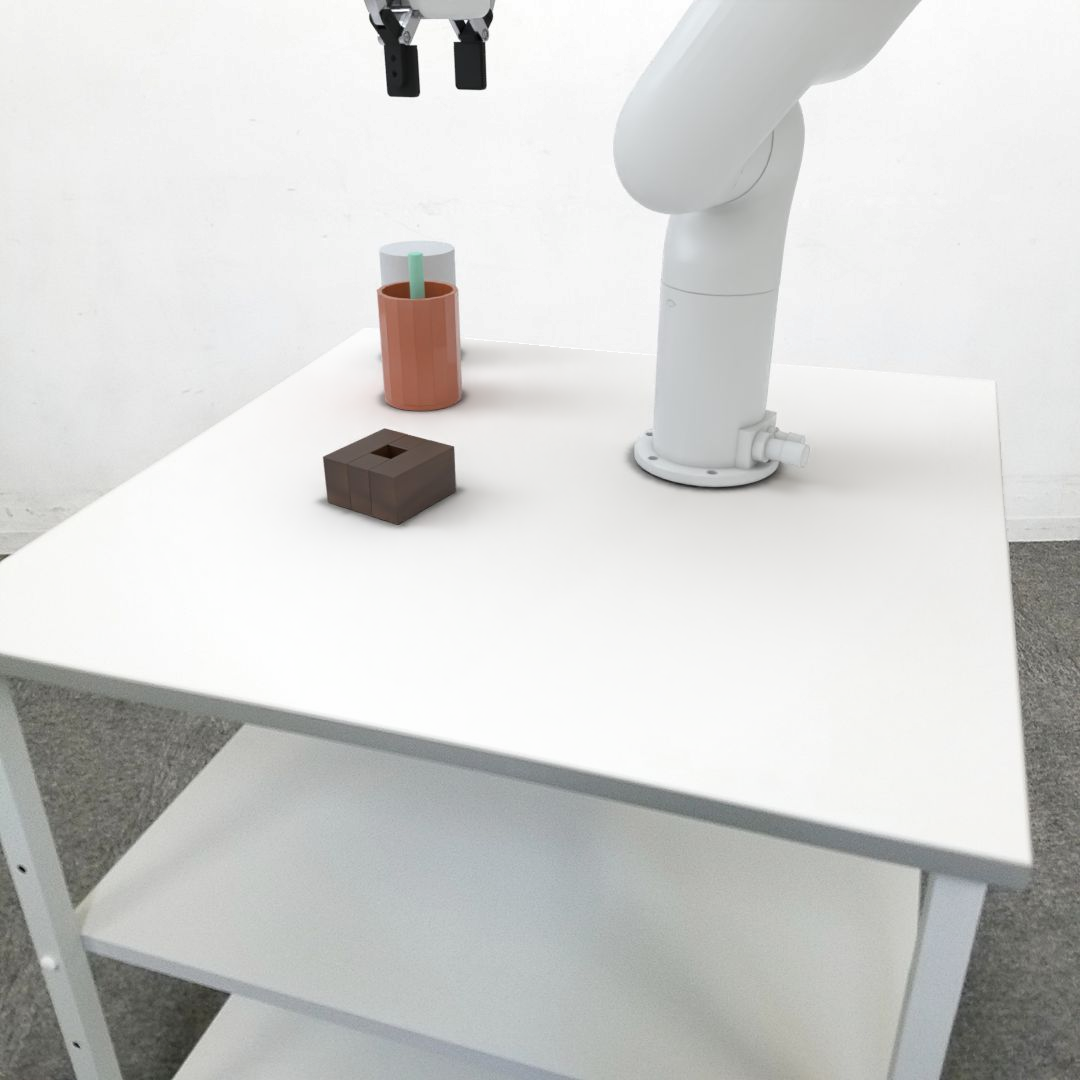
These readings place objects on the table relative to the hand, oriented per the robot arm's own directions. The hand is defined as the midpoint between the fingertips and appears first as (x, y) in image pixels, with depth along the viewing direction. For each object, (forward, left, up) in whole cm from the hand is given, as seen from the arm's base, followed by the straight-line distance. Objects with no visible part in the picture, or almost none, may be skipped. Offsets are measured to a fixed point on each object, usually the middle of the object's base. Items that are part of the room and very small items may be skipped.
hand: (438, 93), depth 92 cm
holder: (-11, +21, -29) cm, 37 cm away
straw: (+2, +1, -28) cm, 28 cm away
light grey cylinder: (+11, -10, -29) cm, 32 cm away
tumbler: (+2, +1, -29) cm, 29 cm away
